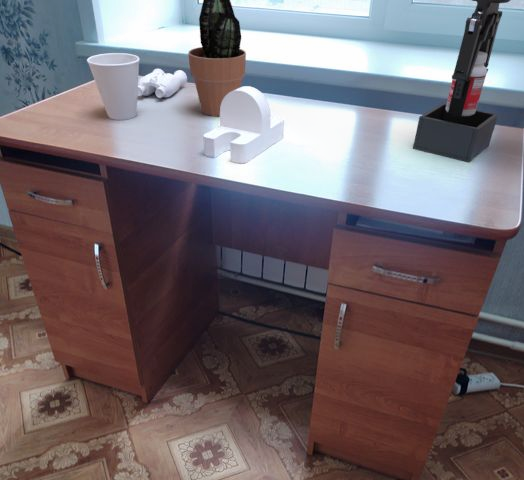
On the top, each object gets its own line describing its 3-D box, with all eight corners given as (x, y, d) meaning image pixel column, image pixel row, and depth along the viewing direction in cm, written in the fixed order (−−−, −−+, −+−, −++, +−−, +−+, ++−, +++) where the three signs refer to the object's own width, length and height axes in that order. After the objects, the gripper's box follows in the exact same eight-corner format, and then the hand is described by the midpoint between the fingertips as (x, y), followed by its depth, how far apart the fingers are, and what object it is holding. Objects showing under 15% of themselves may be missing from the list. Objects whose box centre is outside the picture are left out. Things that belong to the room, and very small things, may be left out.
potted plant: (182, 114, 125) (172, -8, 108) (207, 100, 135) (201, -15, 118) (232, 122, 121) (229, -4, 105) (254, 107, 131) (255, -11, 114)
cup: (105, 107, 129) (95, 52, 120) (151, 108, 128) (144, 53, 120) (91, 122, 120) (79, 63, 111) (141, 124, 119) (132, 65, 111)
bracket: (244, 164, 102) (243, 104, 94) (202, 154, 105) (198, 95, 98) (285, 136, 115) (287, 81, 107) (246, 128, 118) (246, 74, 110)
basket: (488, 145, 112) (498, 114, 108) (469, 162, 105) (478, 129, 100) (435, 133, 118) (442, 103, 113) (412, 148, 110) (419, 116, 106)
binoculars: (188, 86, 144) (186, 68, 141) (168, 102, 133) (166, 83, 129) (153, 84, 146) (151, 66, 143) (131, 99, 134) (128, 80, 131)
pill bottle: (438, 109, 108) (452, 50, 100) (461, 106, 109) (476, 48, 102) (458, 118, 103) (473, 57, 96) (481, 115, 105) (498, 55, 98)
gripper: (492, -31, 98) (459, 97, 114) (456, -24, 87) (425, 118, 102) (531, -28, 95) (492, 103, 110) (500, -20, 83) (461, 125, 99)
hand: (460, 110), depth 106 cm, fingers closed on pill bottle, 6 cm apart
